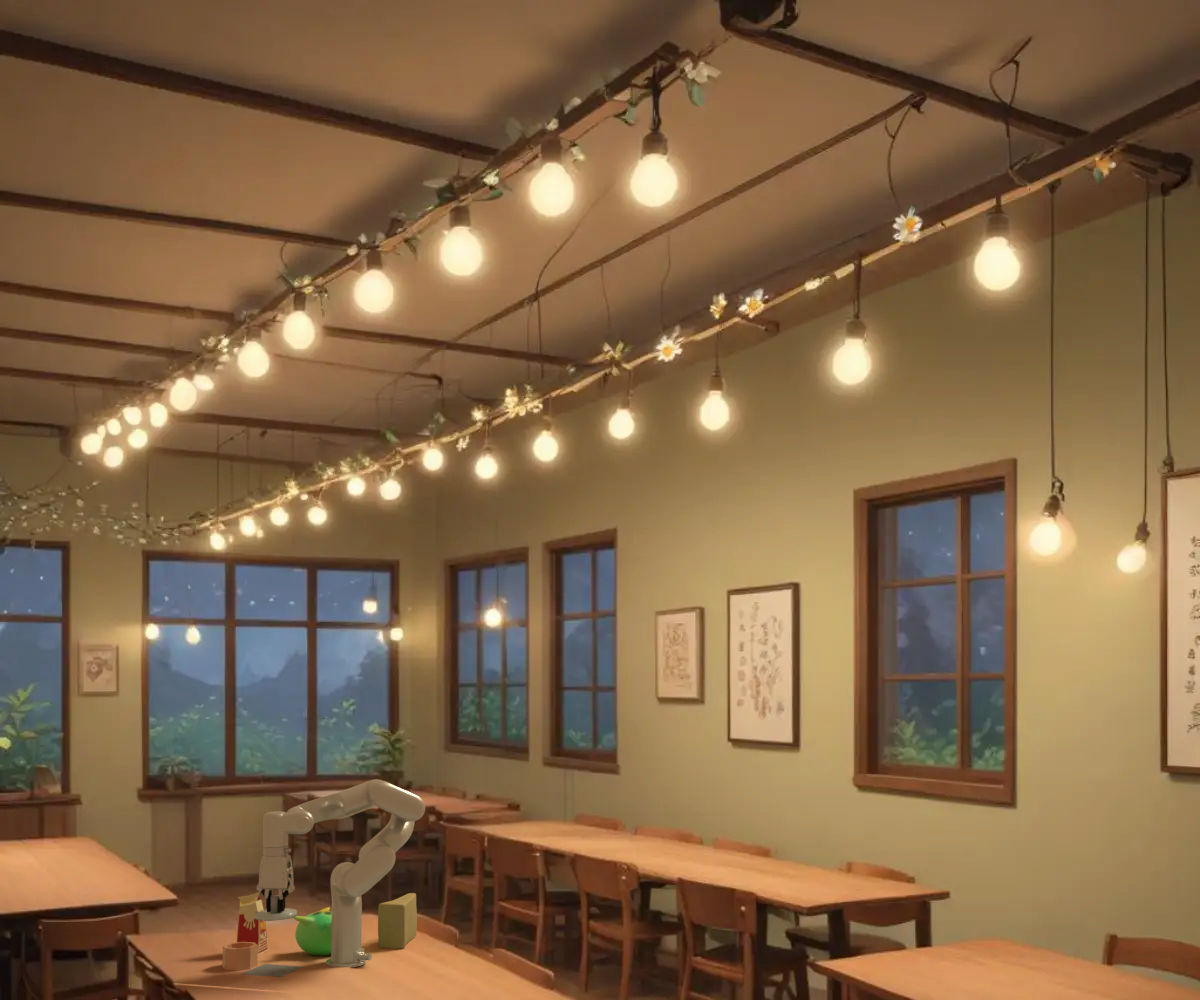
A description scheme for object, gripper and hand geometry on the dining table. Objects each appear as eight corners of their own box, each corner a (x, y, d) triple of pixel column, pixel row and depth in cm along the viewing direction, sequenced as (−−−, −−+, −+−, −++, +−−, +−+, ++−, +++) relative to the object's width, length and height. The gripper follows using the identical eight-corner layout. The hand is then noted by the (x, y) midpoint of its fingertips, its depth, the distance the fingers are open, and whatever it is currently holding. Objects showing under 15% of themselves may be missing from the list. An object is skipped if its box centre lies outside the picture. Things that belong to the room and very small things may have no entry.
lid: (304, 912, 417) (304, 892, 418) (283, 921, 405) (283, 900, 406) (268, 911, 421) (268, 891, 422) (246, 920, 409) (246, 899, 409)
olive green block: (401, 935, 466) (402, 891, 468) (427, 936, 463) (427, 892, 465) (376, 948, 444) (377, 902, 446) (403, 949, 442) (404, 903, 444)
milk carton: (268, 951, 441) (269, 889, 443) (258, 957, 432) (260, 894, 434) (242, 950, 442) (243, 889, 444) (231, 956, 433) (233, 894, 435)
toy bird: (356, 949, 442) (356, 904, 444) (341, 961, 425) (342, 914, 427) (303, 948, 444) (304, 904, 445) (287, 960, 427) (288, 913, 429)
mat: (303, 968, 415) (303, 966, 415) (280, 978, 402) (280, 976, 402) (264, 965, 419) (264, 963, 419) (240, 975, 406) (240, 973, 406)
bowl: (262, 965, 420) (262, 943, 420) (244, 972, 410) (245, 949, 411) (234, 963, 423) (235, 941, 423) (216, 970, 413) (217, 947, 414)
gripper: (304, 850, 416) (305, 909, 414) (259, 849, 421) (259, 908, 419) (292, 854, 409) (292, 914, 407) (246, 853, 414) (246, 913, 412)
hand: (275, 910), depth 413 cm, fingers closed on lid, 3 cm apart
